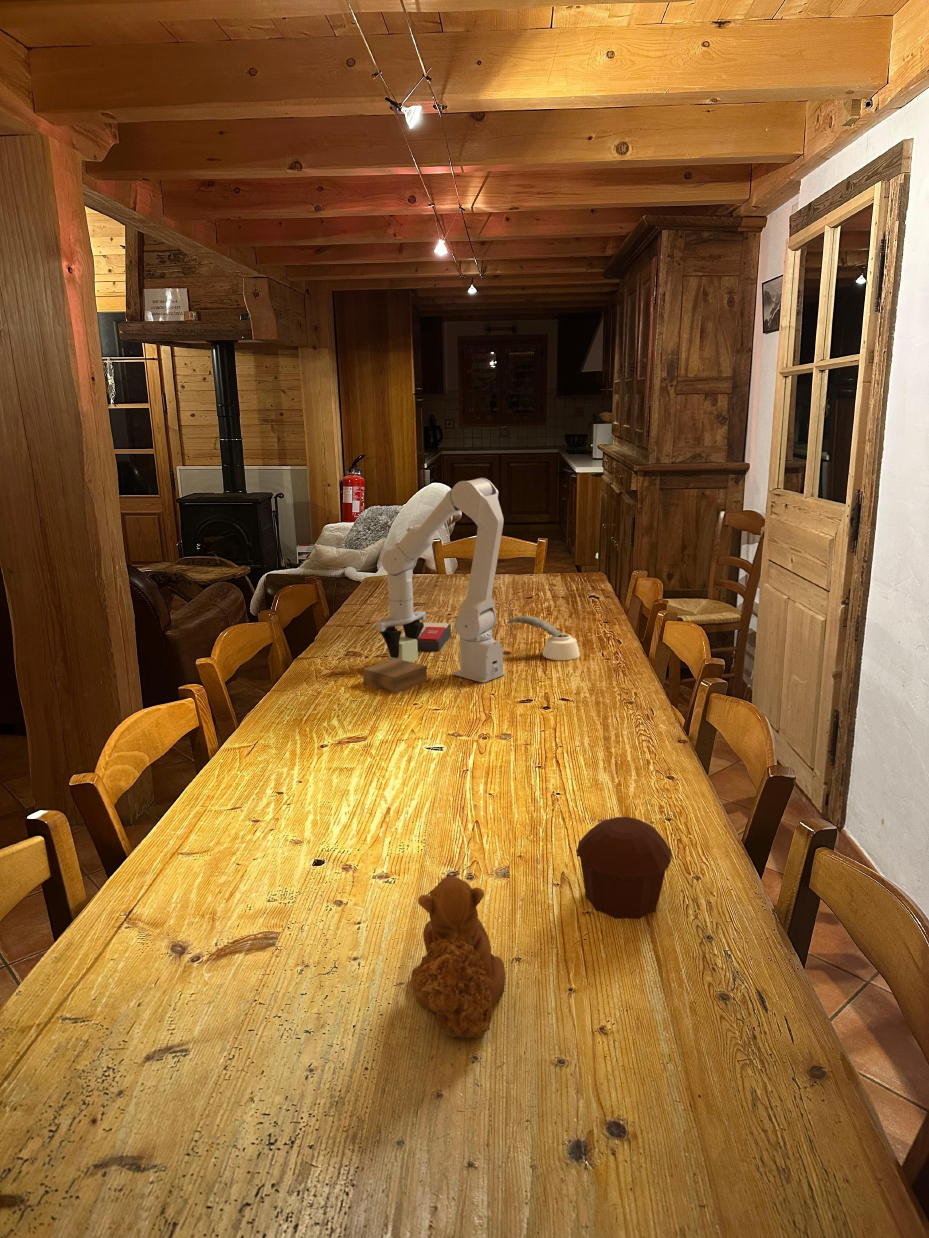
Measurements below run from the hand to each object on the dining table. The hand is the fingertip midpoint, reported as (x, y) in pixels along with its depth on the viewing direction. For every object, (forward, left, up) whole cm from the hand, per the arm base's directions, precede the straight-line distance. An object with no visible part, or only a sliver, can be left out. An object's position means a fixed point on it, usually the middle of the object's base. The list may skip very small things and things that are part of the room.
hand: (402, 654), depth 199 cm
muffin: (-92, +51, -3) cm, 105 cm away
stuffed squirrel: (-90, +79, -3) cm, 119 cm away
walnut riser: (-9, +11, -3) cm, 14 cm away
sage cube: (0, 0, -1) cm, 1 cm away
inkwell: (-22, -27, -3) cm, 35 cm away
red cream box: (+9, -17, -3) cm, 19 cm away
